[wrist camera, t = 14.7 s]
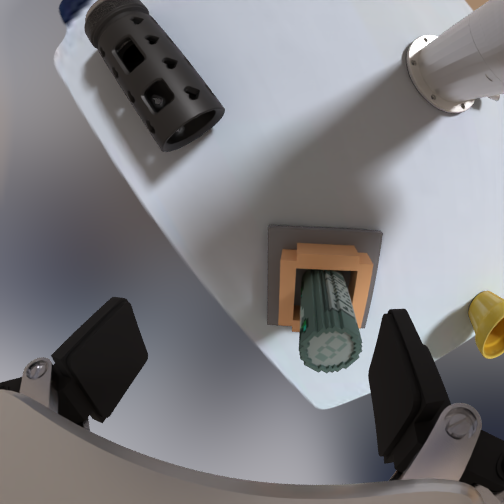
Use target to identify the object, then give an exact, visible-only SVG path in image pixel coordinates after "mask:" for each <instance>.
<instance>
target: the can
mask: <svg viewBox="0 0 504 504" xmlns="http://www.w3.org/2000/svg"><path fill="white" fill-rule="evenodd" d="M361 343H362V340H361V336H360V332H359V328H358V324H357V320H356V317H355V313H354V309H353V306H352V302H351V298H350V295H349V292H348V288H347V285H346V281H345V278H344V275H343V274H342V271H341V270H321V269H308V270H307V271H306V272H305V273H304V275H303V276H302V281H301V307H300V337H299V351H300V359H301V360H303V361H304V365H306V366H307V367H309V368H311V369H313V370H315V371H317V372H320V371H321V370H322V371H324V372H325V373H328V372H329V371H330V372H334V371H337V372H338V371H339V370H341V369H342V368H345V369H346V368H347V367H349V366H350V365H351V364H352V363H353V362H355V361H356V360H357V359H358V358H359V355H358V354H359V353H360V352H362V349H361V347H362V345H361Z"/></svg>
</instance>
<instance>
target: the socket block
mask: <svg viewBox="0 0 504 504" xmlns="http://www.w3.org/2000/svg"><path fill="white" fill-rule="evenodd" d="M382 235H383V233H382V232H381V231H376V230H360V229H343V228H323V227H301V226H275V225H269V227H268V315H267V325H281V326H292V332H300V307H301V281H302V276H303V275H304V273H305V272H306V271H307V270H308V269H321V270H341V271H342V274H343V275H344V278H345V281H346V285H347V288H348V292H349V295H350V298H351V302H352V306H353V309H354V313H355V317H356V320H357V324H358V328H365V325H366V321H367V317H368V313H369V308H370V304H371V299H372V294H373V289H374V284H375V279H376V274H377V268H378V262H379V256H380V249H381V242H382Z"/></svg>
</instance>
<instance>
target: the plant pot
mask: <svg viewBox="0 0 504 504" xmlns="http://www.w3.org/2000/svg"><path fill="white" fill-rule="evenodd" d="M468 315H469V318H470V321H471V323H472V326H473V329H474V331H475V334H476V336H475V340H476V345H477V347H478V348H479V350H480V352H481V354H482V355H483V356H484V357H485V358H487V359H492V358H495V357H498V356H499V355H501V354H502V353H504V299H502V298H501V297H499V296H497V295H495V294H494V293H492V292H490V291H483V292H481V293H480V294H478V295H477V296H476V297H475V298H474V300H473V301H472V303H471V305H470V307H469V312H468Z"/></svg>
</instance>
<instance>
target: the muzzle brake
mask: <svg viewBox="0 0 504 504" xmlns="http://www.w3.org/2000/svg"><path fill="white" fill-rule="evenodd" d="M85 33H86V35H87V37H88V38H89V40H90V42H91V43H92V45H93V46H94V47H95V48H97V49H98V50H99V53H100V54H101V56H102V57H103V59H104V61H105V62H106V64H107V66H108V67H109V69H110V70H111V72H112V74H113V75H114V77H115V78H116V80H117V82H118V83H119V85H120V86H121V88H122V89H123V91H124V93H125V94H126V96H127V97H128V99H129V101H130V102H131V104H132V105H133V107H134V108H135V110H136V111H137V113H138V115H139V116H140V118H141V119H142V121H143V122H144V124H145V125H146V127H147V129H148V130H149V132H150V133H151V135H152V136H153V138H154V139H155V141H156V142H157V144H158V145H159V147H160V148H161V150H162V151H165V152H168V151H173V150H176V149H178V148H181V147H183V146H185V145H187V144H188V143H190V142H192V141H193V140H195V139H197V138H198V137H200V136H201V135H202V134H204V133H205V132H206V131H208V130H209V129H211V128H212V127H213V126H214V125H215V124H216V123H217V122H218V121H219V120H220V119H221V118H222V116H223V115H224V112H225V109H224V107H223V106H222V105H221V103H220V102H219V101H218V99H217V98H216V97H215V95H214V94H213V93H212V91H211V90H210V88H209V87H208V86H207V84H206V83H205V82H204V80H203V79H202V78H201V77H200V75H199V74H198V73H197V71H196V70H195V69H194V67H193V66H192V65H191V64H190V62H189V61H188V60H187V59H186V57H185V56H184V55H183V53H182V52H181V51H180V50H179V49H178V47H177V46H176V45H175V44H174V43H173V41H172V40H171V39H170V38H169V36H168V35H167V34H166V33H165V32H164V30H163V29H162V28H161V27H160V26H159V25H158V23H157V22H156V21H155V20H154V19H153V18H152V17H151V16H150V15H149V11H148V9H147V8H146V7H145V6H144V5H143V3H142V2H141V1H140V0H98V1H96V2H95V3H94V4H93V5H92V6H91V7H90V9H89V10H88V12H87V15H86V18H85ZM152 98H158V99H161V103H160V104H155V100H153V99H152ZM178 129H179V131H178V132H176V131H177V130H178Z"/></svg>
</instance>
